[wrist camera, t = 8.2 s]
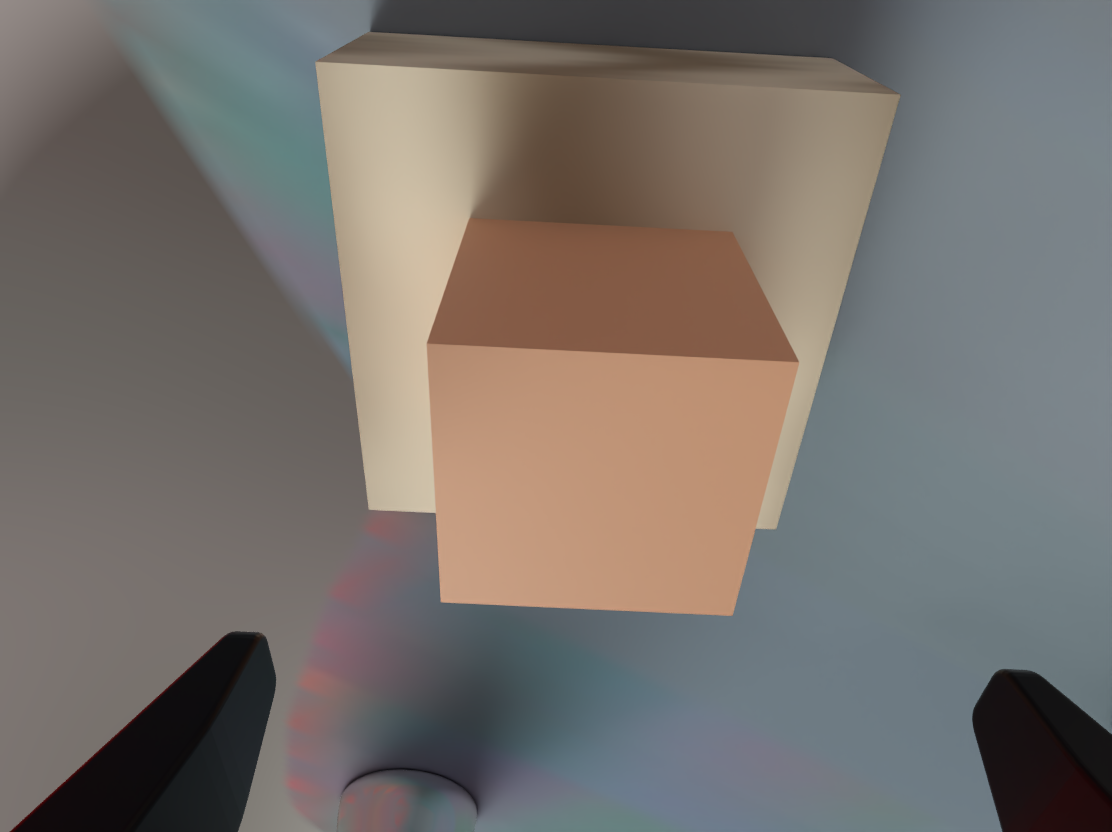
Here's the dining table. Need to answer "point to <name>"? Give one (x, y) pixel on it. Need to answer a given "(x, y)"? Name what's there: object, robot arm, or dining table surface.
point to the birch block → (582, 192)
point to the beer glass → (405, 804)
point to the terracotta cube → (602, 416)
